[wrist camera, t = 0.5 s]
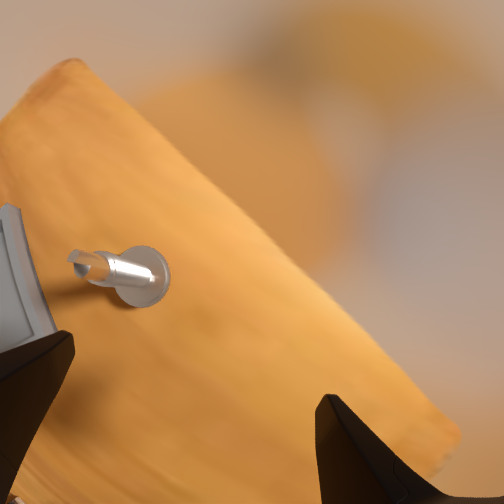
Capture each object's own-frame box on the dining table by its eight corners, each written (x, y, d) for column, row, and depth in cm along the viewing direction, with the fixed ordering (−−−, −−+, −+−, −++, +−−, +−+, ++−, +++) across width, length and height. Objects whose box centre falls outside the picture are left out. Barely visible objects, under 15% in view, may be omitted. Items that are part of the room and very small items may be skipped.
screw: (125, 245, 23) (178, 253, 24) (117, 300, 22) (170, 310, 23) (45, 202, 10) (134, 212, 11) (28, 306, 10) (116, 331, 10)
